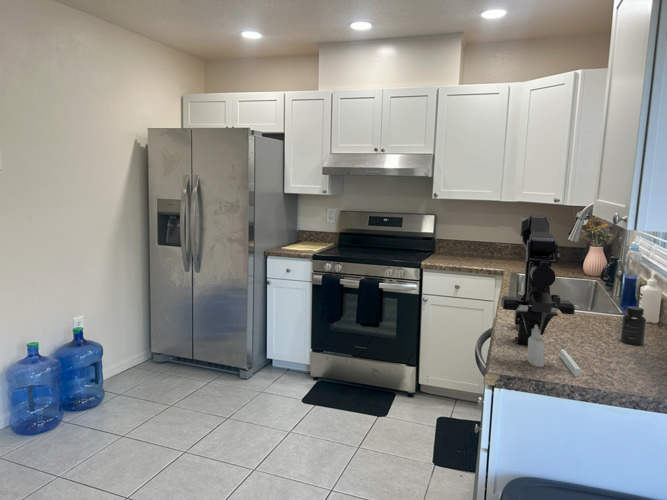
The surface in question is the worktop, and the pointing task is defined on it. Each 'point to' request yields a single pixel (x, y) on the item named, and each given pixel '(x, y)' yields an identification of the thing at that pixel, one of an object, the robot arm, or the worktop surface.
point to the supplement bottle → (633, 326)
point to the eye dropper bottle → (536, 348)
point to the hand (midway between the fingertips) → (534, 334)
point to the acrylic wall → (570, 363)
